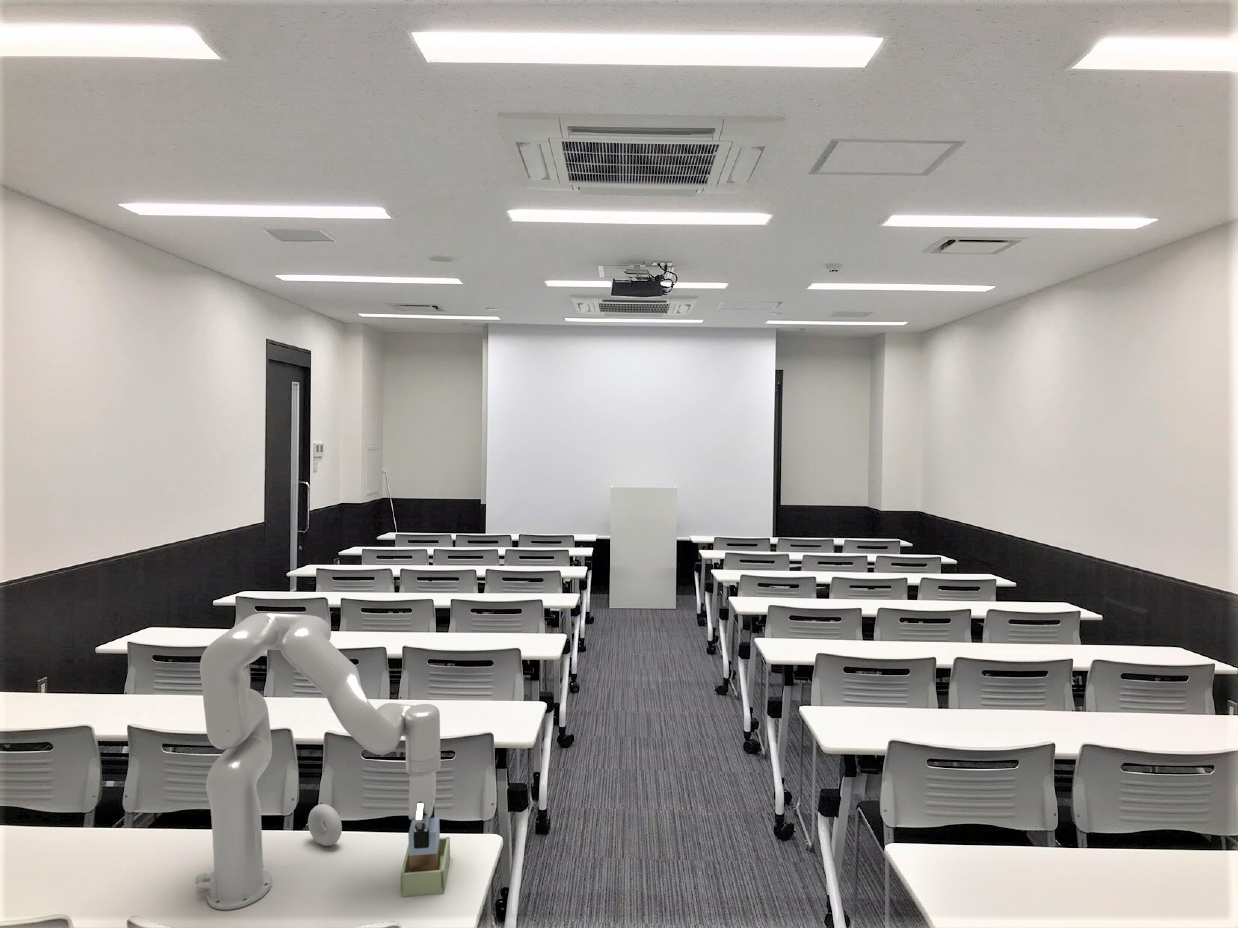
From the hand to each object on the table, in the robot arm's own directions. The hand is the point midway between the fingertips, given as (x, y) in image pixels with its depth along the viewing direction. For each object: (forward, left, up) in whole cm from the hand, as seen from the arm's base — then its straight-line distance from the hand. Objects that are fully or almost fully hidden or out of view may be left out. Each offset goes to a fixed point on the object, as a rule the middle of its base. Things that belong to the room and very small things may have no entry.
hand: (424, 834), depth 168 cm
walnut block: (0, 0, -9) cm, 9 cm away
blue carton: (0, 0, -3) cm, 3 cm away
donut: (-26, +16, -10) cm, 32 cm away
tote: (0, 0, -10) cm, 10 cm away
